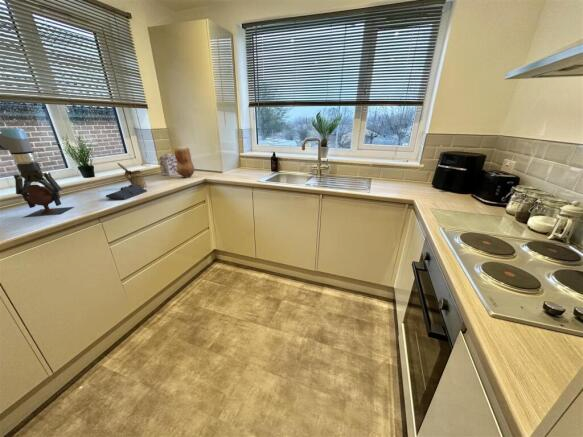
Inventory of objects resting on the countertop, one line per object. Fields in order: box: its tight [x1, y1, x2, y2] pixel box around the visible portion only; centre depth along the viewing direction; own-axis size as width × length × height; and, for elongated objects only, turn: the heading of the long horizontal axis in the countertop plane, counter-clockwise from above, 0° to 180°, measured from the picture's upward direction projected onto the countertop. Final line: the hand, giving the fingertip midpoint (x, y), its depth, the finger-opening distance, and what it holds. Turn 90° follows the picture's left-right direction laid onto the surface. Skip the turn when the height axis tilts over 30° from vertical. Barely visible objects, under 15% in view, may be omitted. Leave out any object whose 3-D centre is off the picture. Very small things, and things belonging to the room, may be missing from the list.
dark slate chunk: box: [105, 183, 148, 200], centre depth 152 cm, size 15×22×5 cm
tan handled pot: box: [116, 162, 147, 189], centre depth 167 cm, size 9×14×18 cm, turn 119°
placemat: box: [22, 206, 75, 219], centre depth 124 cm, size 16×14×1 cm
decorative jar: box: [158, 152, 179, 177], centre depth 208 cm, size 12×12×18 cm
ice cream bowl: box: [26, 183, 55, 214], centre depth 121 cm, size 11×11×15 cm
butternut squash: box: [173, 145, 195, 178], centre depth 195 cm, size 14×13×25 cm
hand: (46, 206), depth 123 cm, fingers closed on ice cream bowl, 11 cm apart
